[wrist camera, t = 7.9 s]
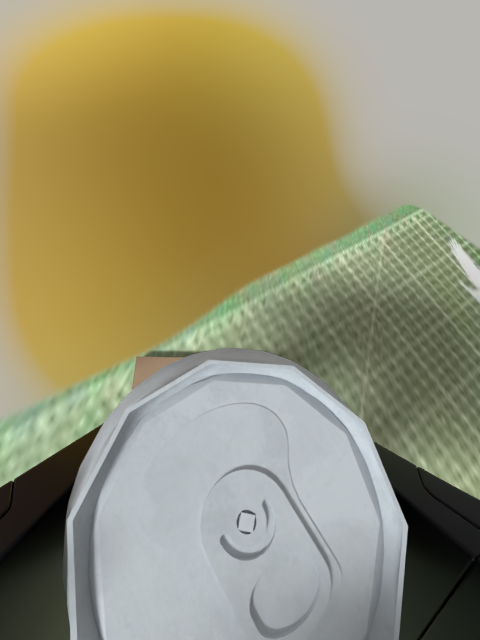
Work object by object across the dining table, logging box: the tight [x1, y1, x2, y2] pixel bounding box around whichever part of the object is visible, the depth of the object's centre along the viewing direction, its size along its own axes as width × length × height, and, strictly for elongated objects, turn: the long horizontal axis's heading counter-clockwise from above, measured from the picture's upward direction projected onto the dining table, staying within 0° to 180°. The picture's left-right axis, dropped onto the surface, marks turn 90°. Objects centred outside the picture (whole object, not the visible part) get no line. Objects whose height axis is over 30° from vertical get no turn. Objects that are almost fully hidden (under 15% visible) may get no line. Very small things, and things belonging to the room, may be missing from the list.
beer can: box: [62, 348, 408, 640], centre depth 9 cm, size 5×5×12 cm
